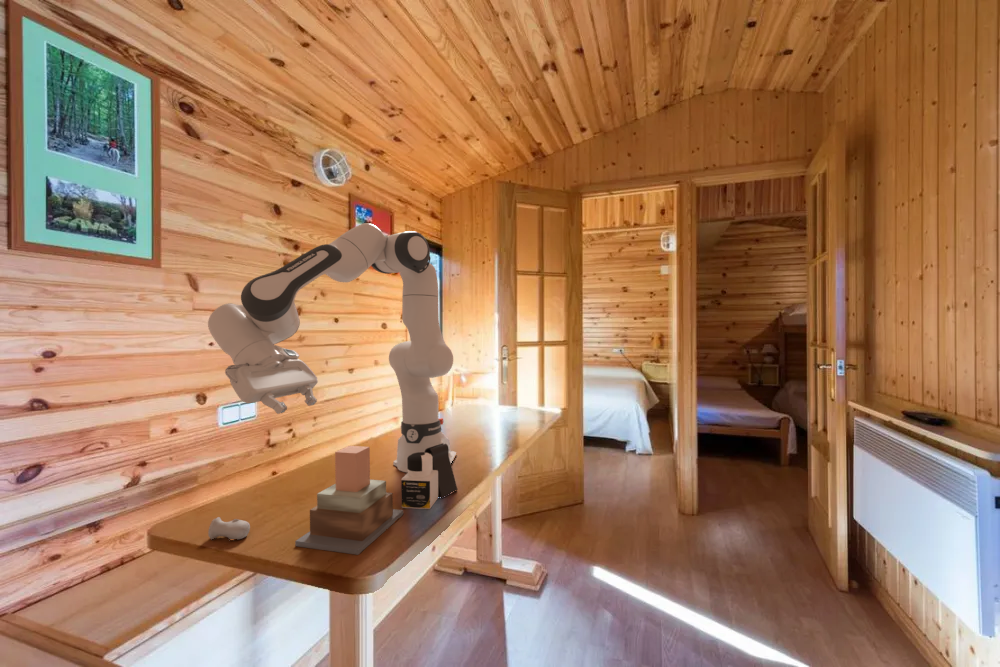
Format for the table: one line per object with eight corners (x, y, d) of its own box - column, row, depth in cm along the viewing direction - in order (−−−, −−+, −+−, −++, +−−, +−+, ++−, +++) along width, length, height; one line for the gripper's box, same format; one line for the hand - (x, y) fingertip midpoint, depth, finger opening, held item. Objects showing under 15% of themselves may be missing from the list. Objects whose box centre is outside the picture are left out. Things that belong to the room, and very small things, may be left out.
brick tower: (345, 510, 98) (345, 475, 98) (392, 515, 95) (392, 479, 95) (310, 534, 86) (309, 495, 86) (362, 541, 83) (361, 500, 83)
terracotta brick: (349, 481, 94) (349, 445, 94) (370, 483, 92) (369, 447, 92) (335, 490, 89) (335, 451, 89) (356, 492, 88) (356, 453, 88)
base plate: (349, 508, 101) (349, 504, 101) (403, 514, 97) (403, 510, 97) (295, 546, 84) (295, 540, 84) (358, 554, 80) (358, 549, 80)
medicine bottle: (401, 508, 101) (400, 458, 101) (411, 496, 108) (411, 449, 108) (430, 509, 100) (429, 459, 100) (438, 498, 107) (438, 450, 107)
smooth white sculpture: (254, 540, 89) (236, 544, 84) (221, 536, 90) (201, 540, 85) (259, 517, 90) (241, 520, 85) (226, 514, 91) (207, 517, 87)
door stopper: (416, 491, 112) (416, 445, 112) (433, 484, 117) (432, 440, 116) (441, 499, 106) (441, 451, 106) (457, 491, 111) (457, 445, 111)
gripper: (229, 355, 85) (270, 405, 83) (301, 350, 105) (336, 391, 103) (212, 377, 87) (252, 427, 84) (286, 368, 106) (320, 408, 104)
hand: (299, 407), depth 94 cm, fingers open, 8 cm apart
